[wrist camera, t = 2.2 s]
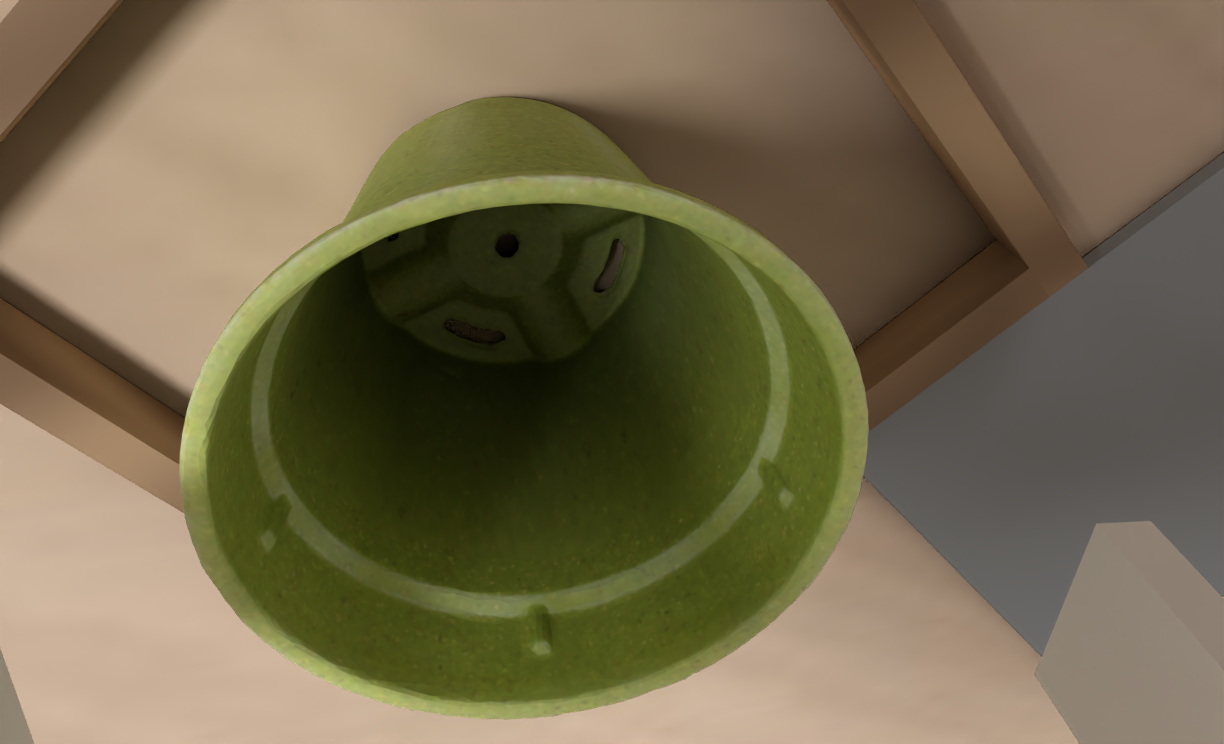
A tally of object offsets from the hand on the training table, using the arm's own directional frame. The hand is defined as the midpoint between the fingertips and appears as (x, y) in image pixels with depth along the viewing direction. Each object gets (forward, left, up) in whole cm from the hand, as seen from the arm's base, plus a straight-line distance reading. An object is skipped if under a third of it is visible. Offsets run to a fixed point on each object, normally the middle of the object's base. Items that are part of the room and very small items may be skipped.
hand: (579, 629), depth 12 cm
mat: (+17, +9, -11) cm, 22 cm away
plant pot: (0, 0, -11) cm, 11 cm away
